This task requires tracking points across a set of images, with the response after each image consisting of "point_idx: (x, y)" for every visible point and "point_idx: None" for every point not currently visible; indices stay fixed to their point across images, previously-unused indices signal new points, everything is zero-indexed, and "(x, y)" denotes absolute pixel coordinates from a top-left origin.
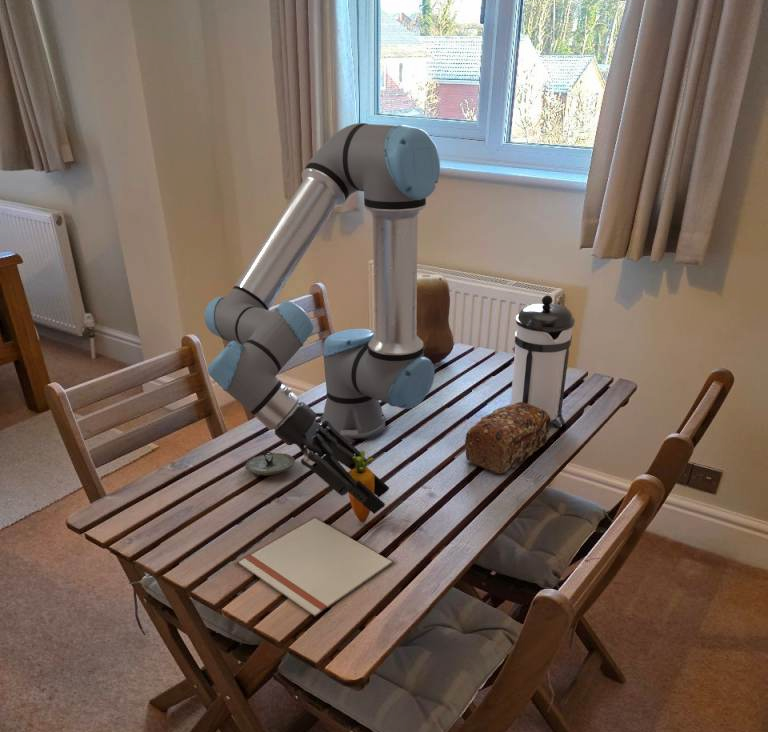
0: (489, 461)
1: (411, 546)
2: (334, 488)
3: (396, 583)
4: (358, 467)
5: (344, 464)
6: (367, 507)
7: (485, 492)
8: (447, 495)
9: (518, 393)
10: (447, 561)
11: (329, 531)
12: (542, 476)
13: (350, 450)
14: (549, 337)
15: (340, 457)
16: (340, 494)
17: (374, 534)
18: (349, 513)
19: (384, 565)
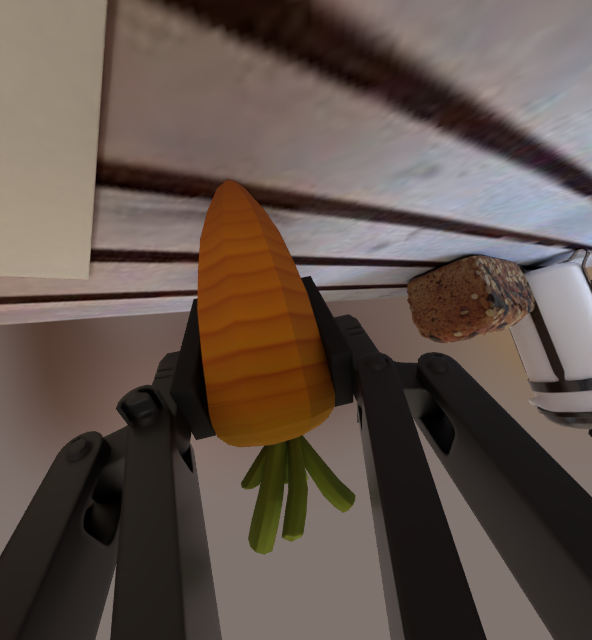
0: (429, 289)
1: (181, 274)
2: (30, 518)
3: (27, 294)
4: (262, 479)
5: (366, 426)
6: (190, 319)
7: (367, 282)
8: (370, 261)
9: (553, 308)
10: (170, 304)
11: (45, 46)
12: (389, 296)
13: (451, 462)
14: (541, 405)
15: (377, 506)
16: (58, 458)
17: (185, 216)
18: (301, 94)
19: (56, 276)
